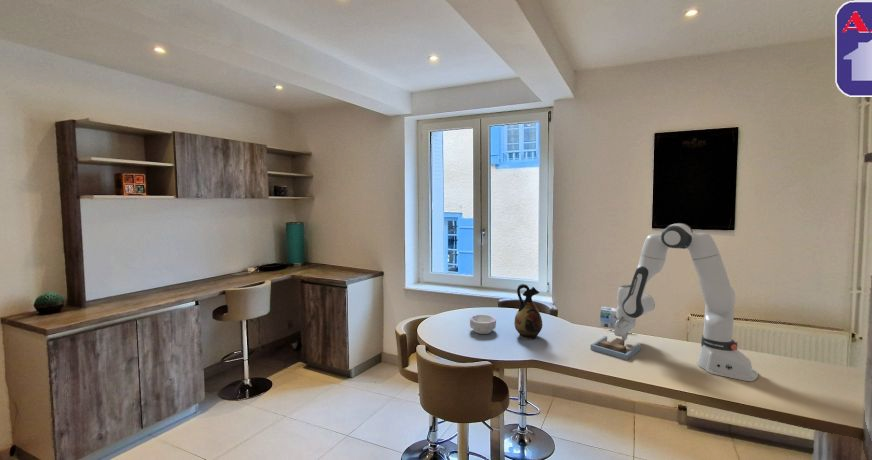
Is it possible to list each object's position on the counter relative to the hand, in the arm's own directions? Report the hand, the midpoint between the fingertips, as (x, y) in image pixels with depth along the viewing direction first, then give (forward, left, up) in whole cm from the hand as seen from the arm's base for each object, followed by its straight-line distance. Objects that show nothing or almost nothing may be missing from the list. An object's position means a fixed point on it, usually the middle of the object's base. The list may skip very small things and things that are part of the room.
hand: (624, 339), depth 216 cm
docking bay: (0, +11, -2) cm, 11 cm away
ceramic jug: (+43, +28, -2) cm, 51 cm away
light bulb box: (+17, -21, -2) cm, 27 cm away
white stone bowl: (+66, +39, -2) cm, 77 cm away
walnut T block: (0, +11, -2) cm, 11 cm away
